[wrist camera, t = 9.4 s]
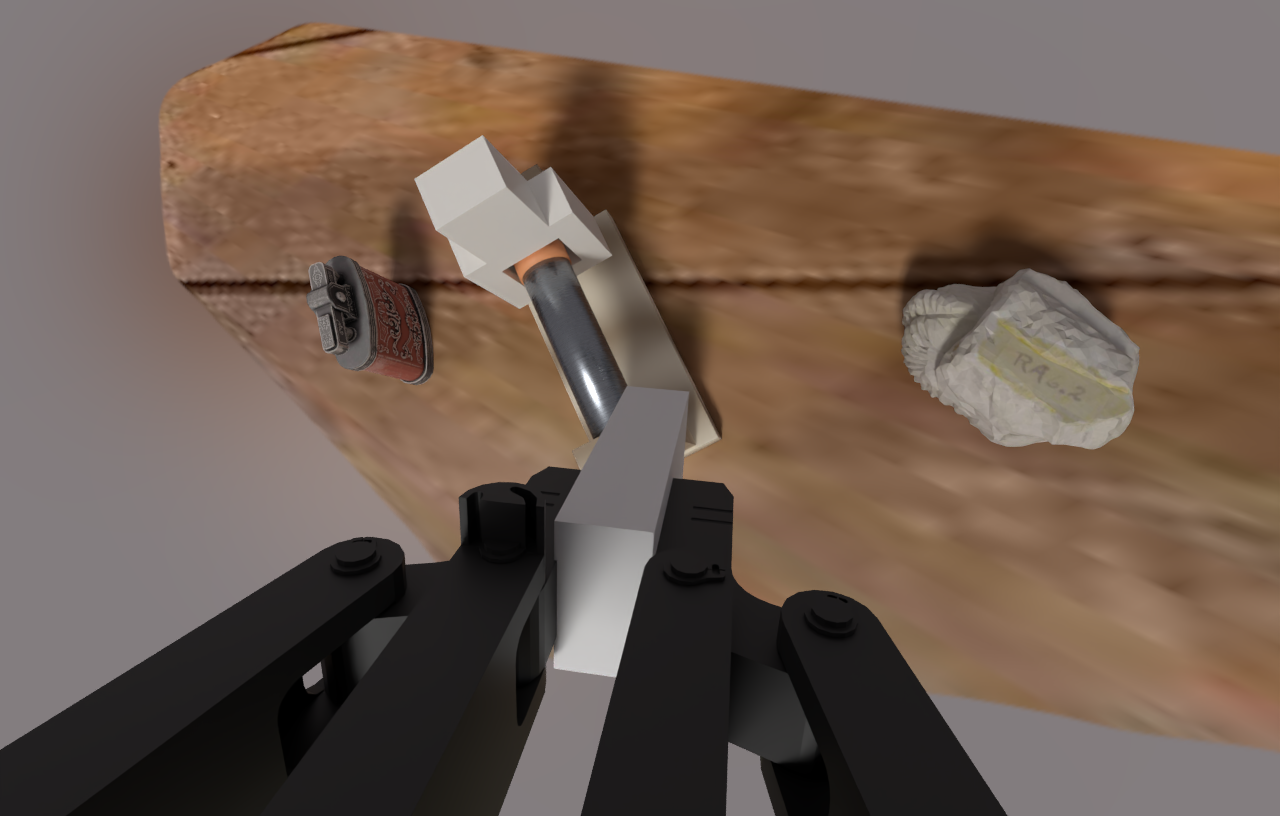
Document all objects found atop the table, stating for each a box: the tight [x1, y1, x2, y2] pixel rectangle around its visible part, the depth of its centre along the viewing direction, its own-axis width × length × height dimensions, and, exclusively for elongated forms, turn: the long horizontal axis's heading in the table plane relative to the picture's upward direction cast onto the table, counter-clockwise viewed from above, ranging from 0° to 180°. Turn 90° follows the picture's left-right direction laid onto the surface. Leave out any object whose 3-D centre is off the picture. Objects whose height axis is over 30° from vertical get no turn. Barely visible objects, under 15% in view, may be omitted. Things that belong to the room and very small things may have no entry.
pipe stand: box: [514, 164, 721, 470], centre depth 42 cm, size 18×8×11 cm, turn 25°
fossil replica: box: [901, 268, 1140, 449], centre depth 37 cm, size 12×8×10 cm
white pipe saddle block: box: [415, 135, 612, 309], centre depth 37 cm, size 3×7×12 cm, turn 115°
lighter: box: [307, 256, 434, 385], centre depth 47 cm, size 8×3×10 cm, turn 15°
